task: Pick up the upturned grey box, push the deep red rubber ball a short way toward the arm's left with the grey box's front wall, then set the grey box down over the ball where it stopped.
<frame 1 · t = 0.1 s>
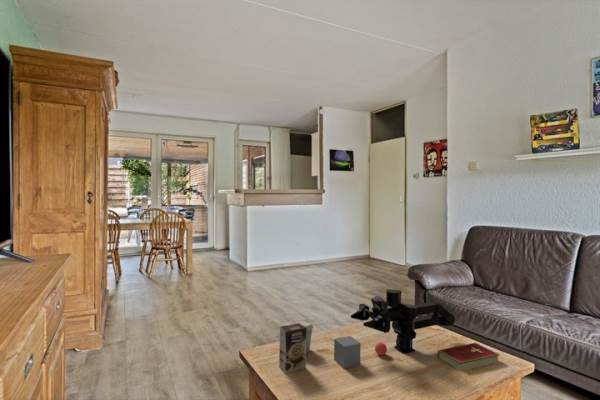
hand: (357, 320, 138), 17 cm above the table, tool horizontal, fingers open, 9 cm apart
coffee box: (292, 367, 132), on the table
hardcover book: (468, 361, 139), on the table
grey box: (346, 362, 136), on the table
ball: (380, 348, 143), on the table
coffee cup: (303, 350, 147), on the table
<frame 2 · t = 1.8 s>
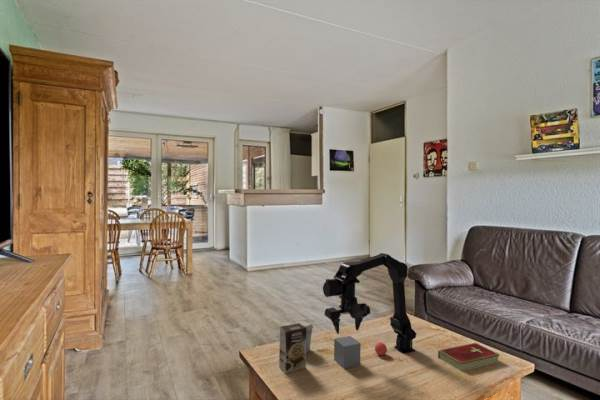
hand: (347, 332, 136), 12 cm above the table, tool pointing down, fingers open, 9 cm apart
nothing on the table moved.
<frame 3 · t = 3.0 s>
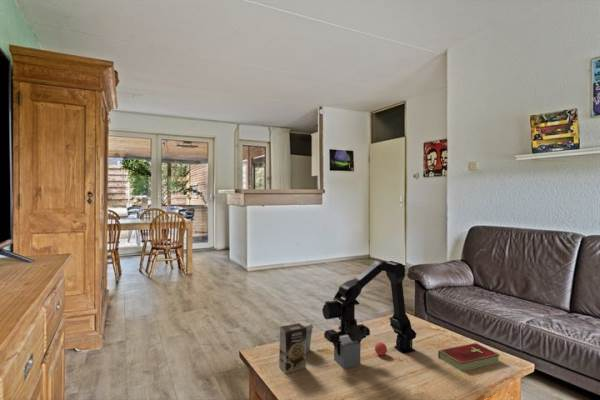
hand: (347, 353, 136), 4 cm above the table, tool pointing down, fingers closed on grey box, 8 cm apart
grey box: (346, 362, 136), on the table, touching gripper
everything else where it was.
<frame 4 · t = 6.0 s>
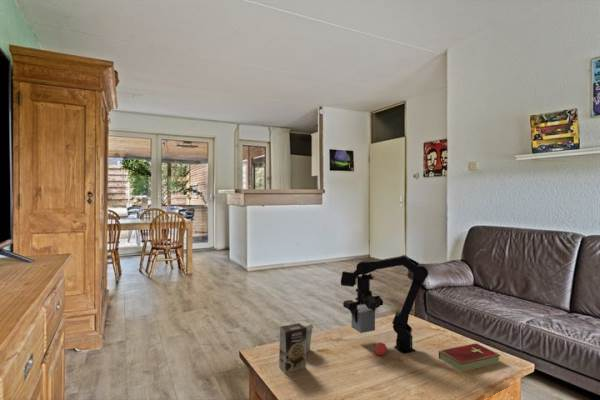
hand: (363, 321, 155), 10 cm above the table, tool pointing down, fingers closed on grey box, 8 cm apart
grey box: (363, 328, 155), point 6 cm above the table, touching gripper
everything else where it was.
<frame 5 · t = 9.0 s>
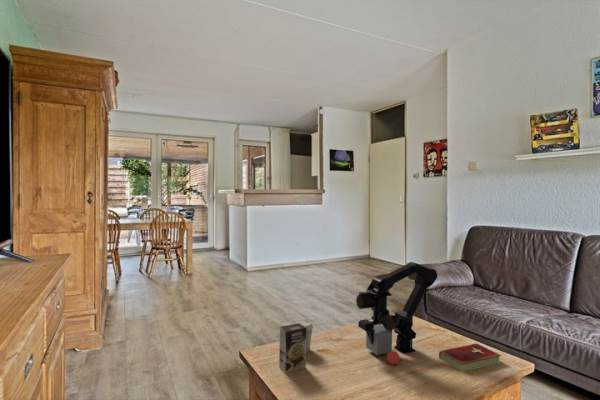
hand: (379, 342, 144), 5 cm above the table, tool pointing down, fingers closed on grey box, 8 cm apart
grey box: (378, 349, 144), point 2 cm above the table, touching gripper
ball: (393, 357, 135), on the table
everything else where it was.
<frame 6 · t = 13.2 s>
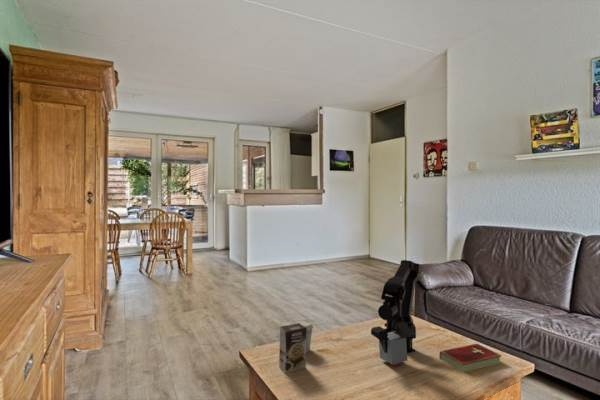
hand: (393, 350, 136), 5 cm above the table, tool pointing down, fingers closed on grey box, 8 cm apart
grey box: (393, 359, 136), point 2 cm above the table, tilted 6°, touching gripper
when the fingers open (4 cm above the table, at t = 14.1 s): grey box stays where it is, on the table.
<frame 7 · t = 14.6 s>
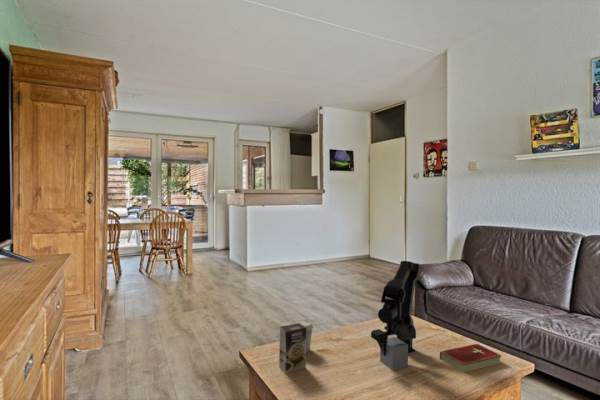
hand: (393, 353, 136), 4 cm above the table, tool pointing down, fingers open, 9 cm apart
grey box: (393, 363, 136), on the table
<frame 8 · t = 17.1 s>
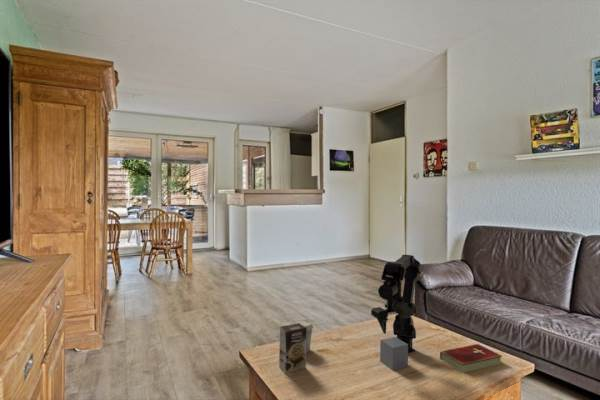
hand: (393, 331, 136), 13 cm above the table, tool pointing down, fingers open, 9 cm apart
at the end: ball 0.5 cm from the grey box (horizontally); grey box on the table; ball moved 8.7 cm from its start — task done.
